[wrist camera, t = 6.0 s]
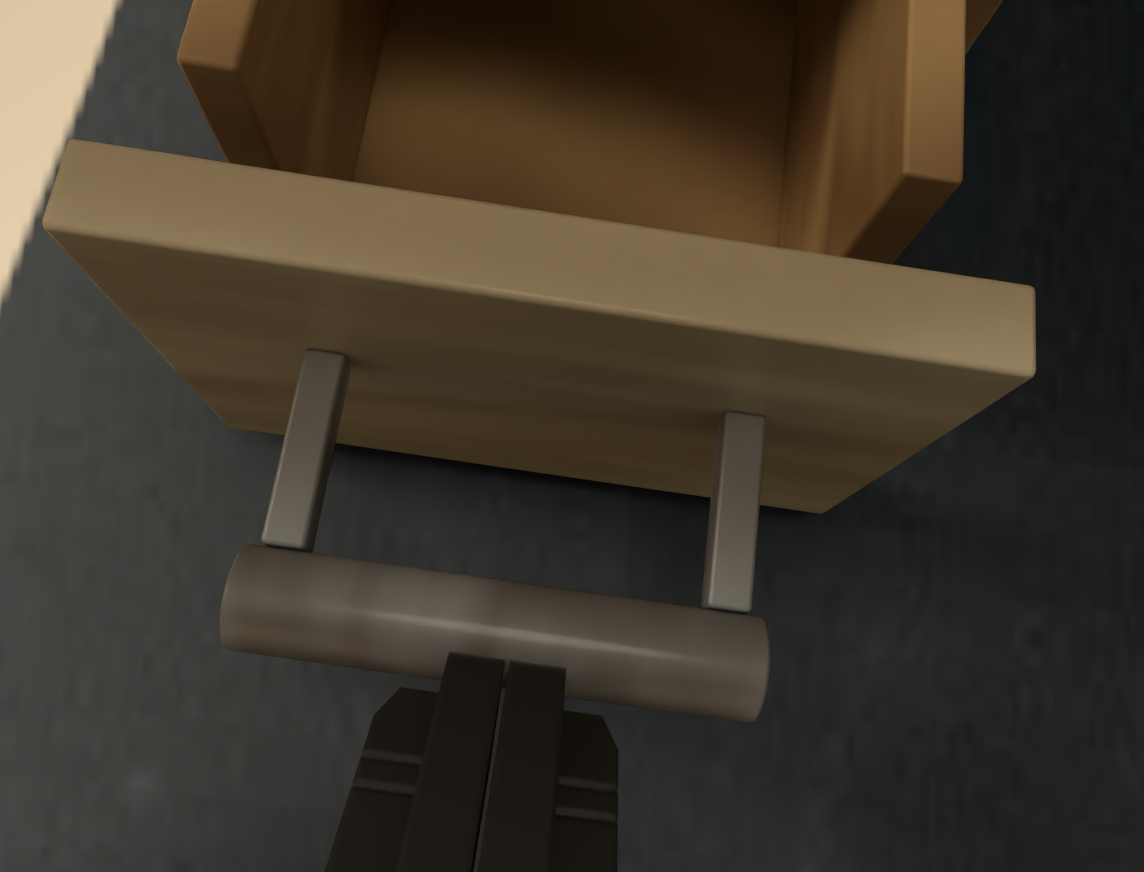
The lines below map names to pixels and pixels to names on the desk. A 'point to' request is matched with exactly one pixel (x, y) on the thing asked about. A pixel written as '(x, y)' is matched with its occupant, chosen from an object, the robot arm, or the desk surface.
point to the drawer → (555, 291)
